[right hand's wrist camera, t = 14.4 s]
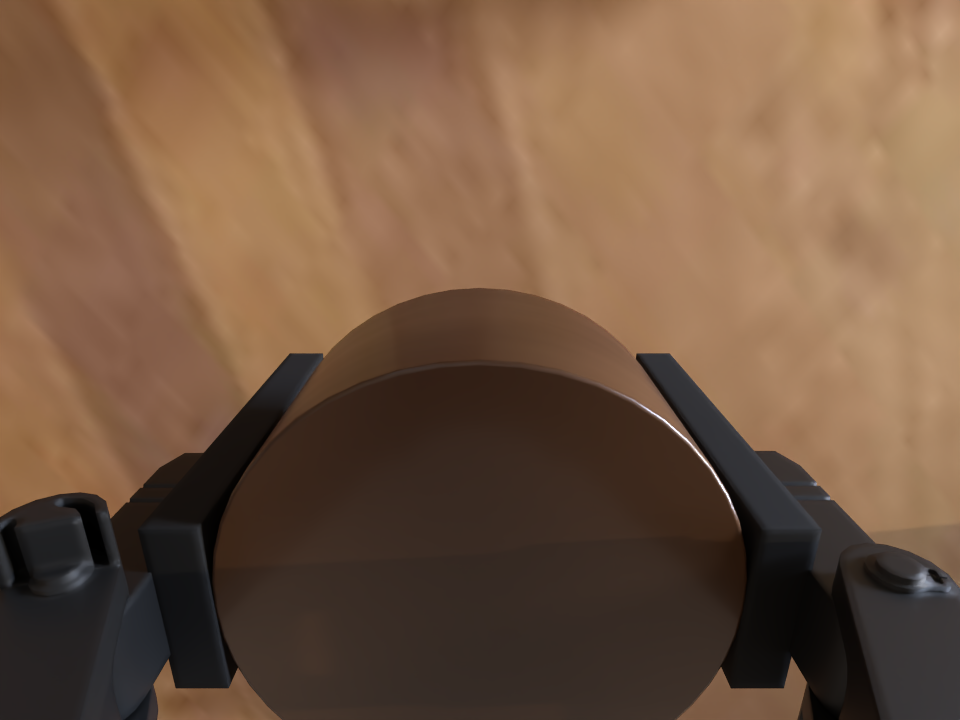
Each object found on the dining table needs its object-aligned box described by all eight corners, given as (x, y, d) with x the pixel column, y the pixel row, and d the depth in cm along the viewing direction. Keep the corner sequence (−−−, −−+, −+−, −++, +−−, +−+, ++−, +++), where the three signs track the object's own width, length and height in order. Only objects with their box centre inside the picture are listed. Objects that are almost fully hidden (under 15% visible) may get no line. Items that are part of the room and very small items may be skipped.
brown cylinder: (692, 286, 10) (795, 361, 7) (649, 620, 13) (709, 790, 9) (265, 287, 10) (163, 361, 7) (308, 621, 13) (249, 791, 9)
